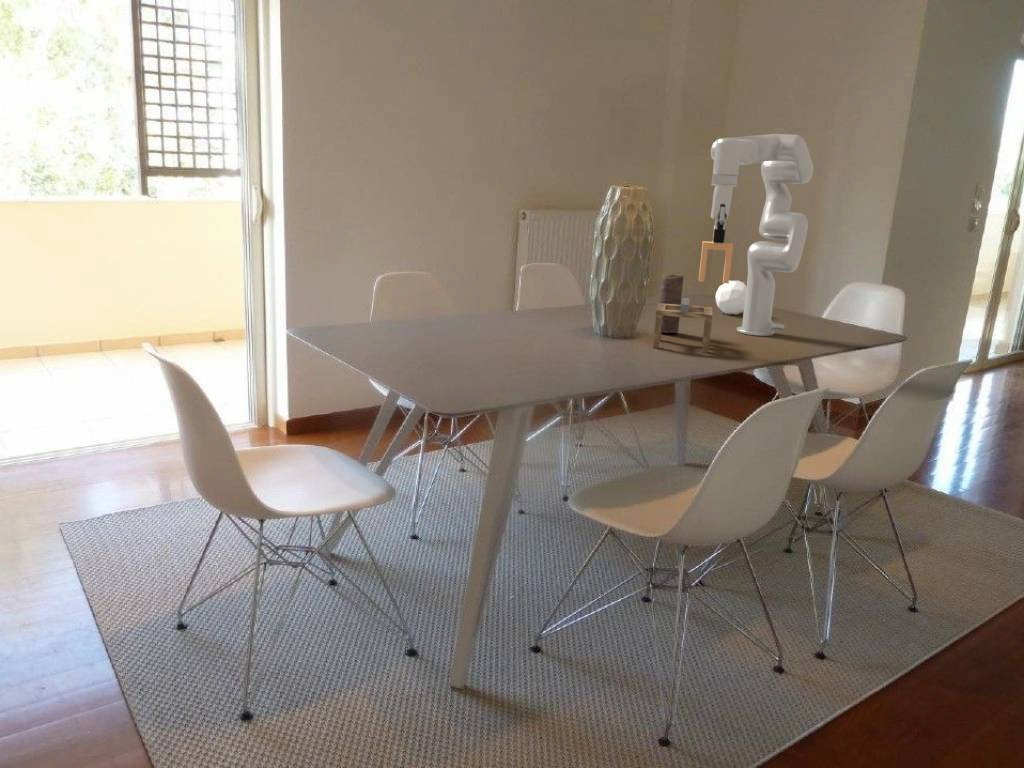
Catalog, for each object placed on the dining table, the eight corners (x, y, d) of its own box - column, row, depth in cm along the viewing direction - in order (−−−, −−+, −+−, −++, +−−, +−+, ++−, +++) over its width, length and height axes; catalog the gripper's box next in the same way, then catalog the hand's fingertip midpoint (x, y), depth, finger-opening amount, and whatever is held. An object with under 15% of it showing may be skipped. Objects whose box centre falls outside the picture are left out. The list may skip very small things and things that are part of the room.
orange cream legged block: (727, 281, 273) (734, 226, 269) (728, 283, 268) (735, 227, 264) (698, 279, 274) (704, 224, 270) (699, 281, 270) (705, 225, 266)
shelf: (707, 343, 284) (711, 307, 280) (708, 353, 270) (712, 314, 267) (655, 339, 287) (658, 303, 284) (652, 348, 273) (656, 310, 270)
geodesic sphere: (739, 295, 351) (727, 268, 344) (765, 301, 340) (752, 273, 333) (716, 318, 348) (703, 291, 341) (740, 324, 336) (728, 297, 329)
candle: (677, 336, 293) (683, 276, 288) (655, 334, 294) (661, 275, 289) (678, 332, 300) (684, 274, 295) (656, 330, 302) (662, 272, 297)
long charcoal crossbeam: (688, 305, 282) (689, 298, 281) (688, 312, 269) (689, 305, 268) (681, 304, 282) (681, 297, 282) (680, 312, 269) (681, 304, 268)
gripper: (710, 179, 272) (704, 239, 277) (713, 180, 256) (706, 243, 261) (735, 181, 271) (728, 240, 276) (739, 182, 255) (732, 245, 260)
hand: (717, 241), depth 268 cm, fingers closed on orange cream legged block, 4 cm apart
